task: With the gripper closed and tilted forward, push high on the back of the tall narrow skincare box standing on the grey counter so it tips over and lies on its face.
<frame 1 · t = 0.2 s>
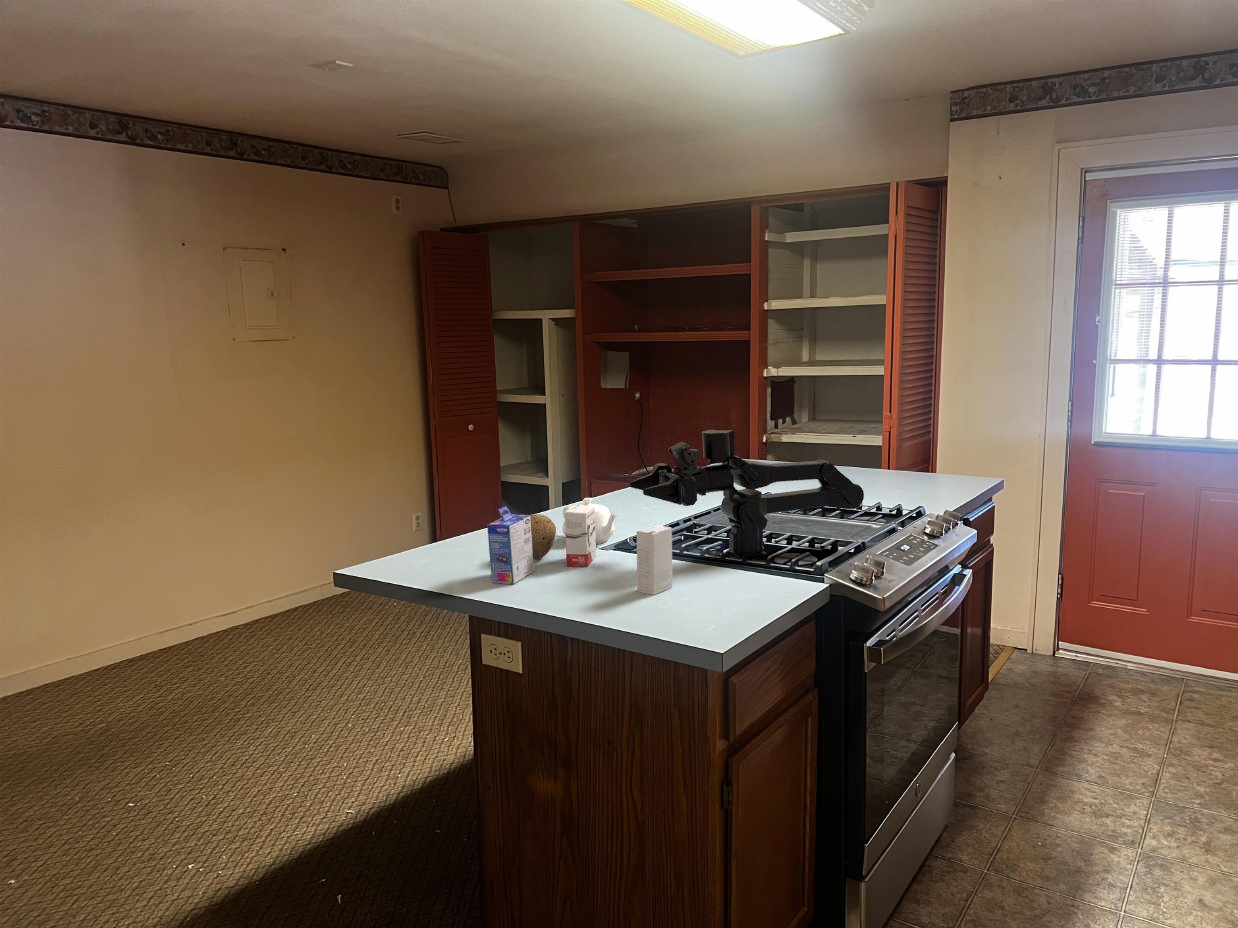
hand: (636, 488, 183), 17 cm above the worktop, fingers open, 9 cm apart
skincare box: (655, 591, 168), on the worktop
natural sponge: (536, 559, 193), on the worktop
ink cartridge box: (512, 578, 179), on the worktop
teapot: (590, 541, 208), on the worktop
ink box: (581, 562, 189), on the worktop
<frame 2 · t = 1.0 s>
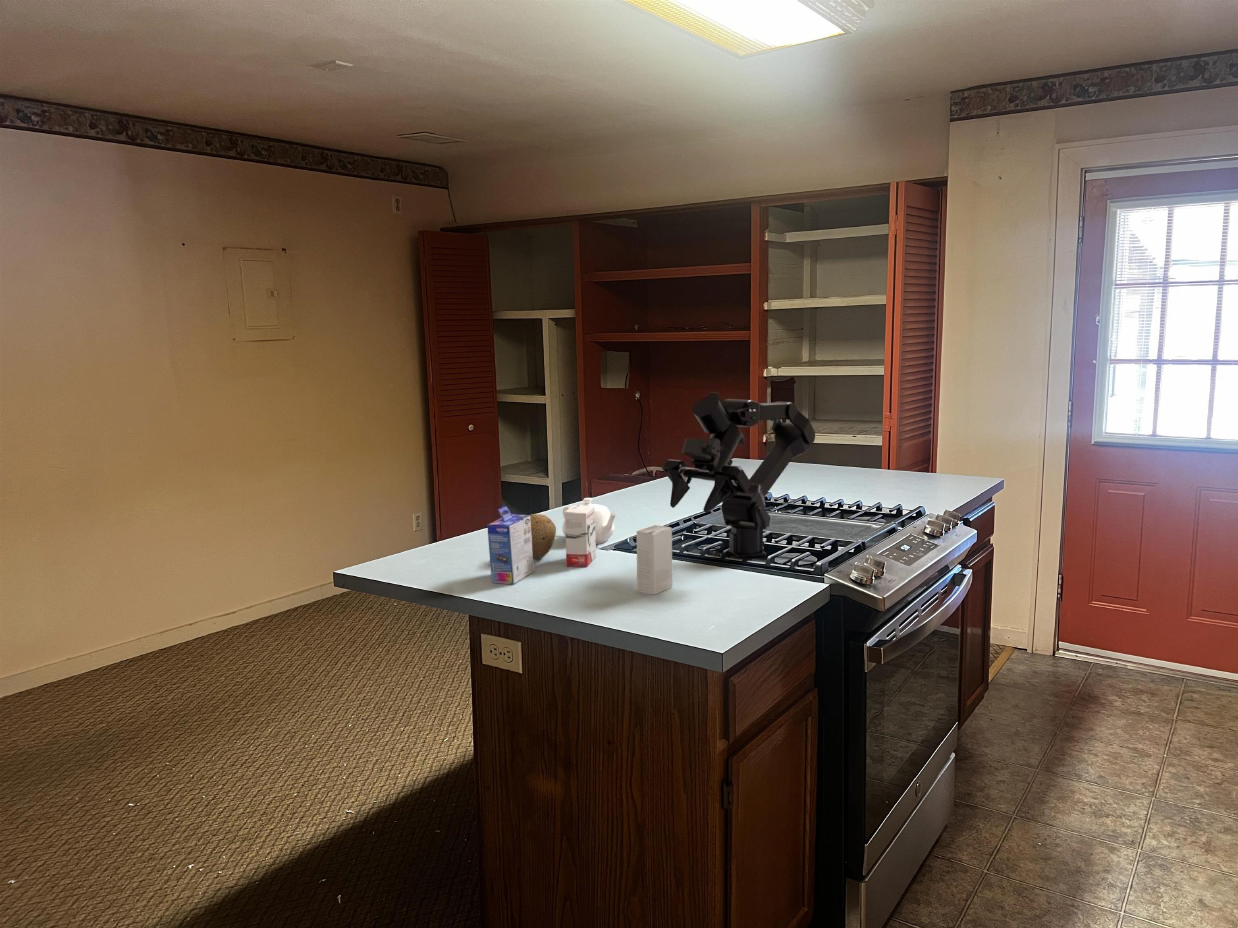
hand: (688, 508, 174), 14 cm above the worktop, fingers open, 8 cm apart
nothing on the worktop moved.
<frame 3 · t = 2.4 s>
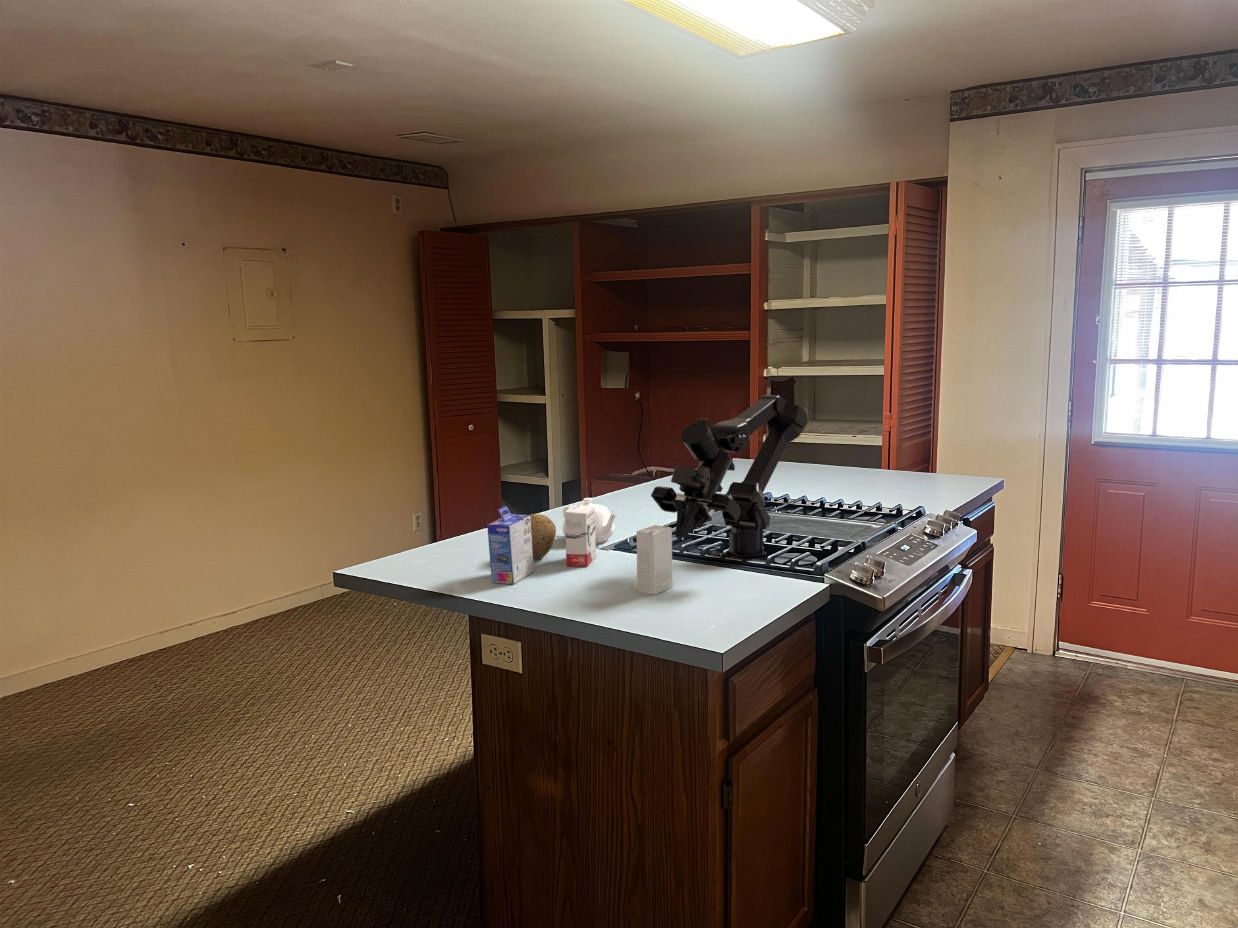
hand: (677, 538, 172), 9 cm above the worktop, fingers closed
nothing on the worktop moved.
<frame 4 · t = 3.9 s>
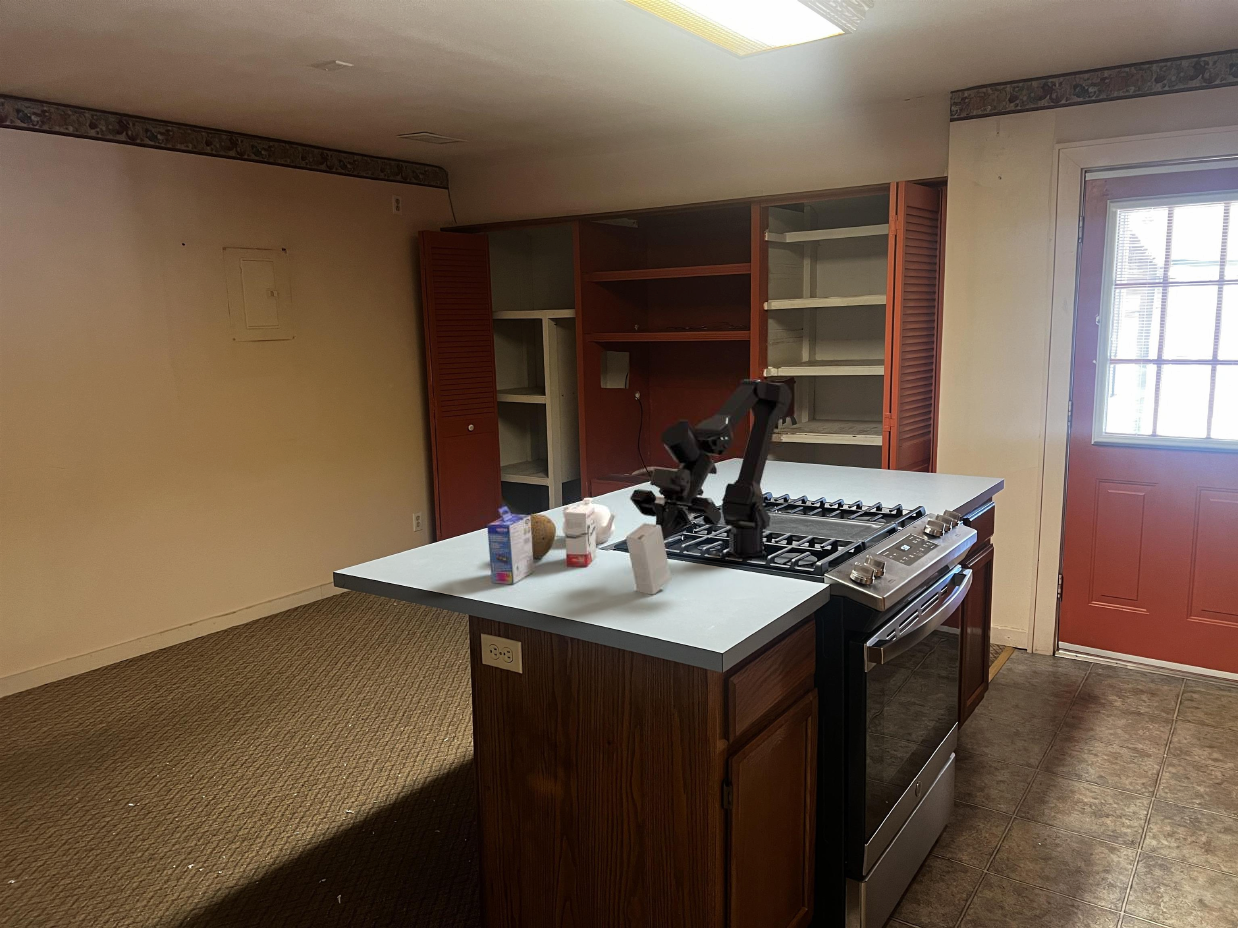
hand: (656, 542, 167), 9 cm above the worktop, fingers closed
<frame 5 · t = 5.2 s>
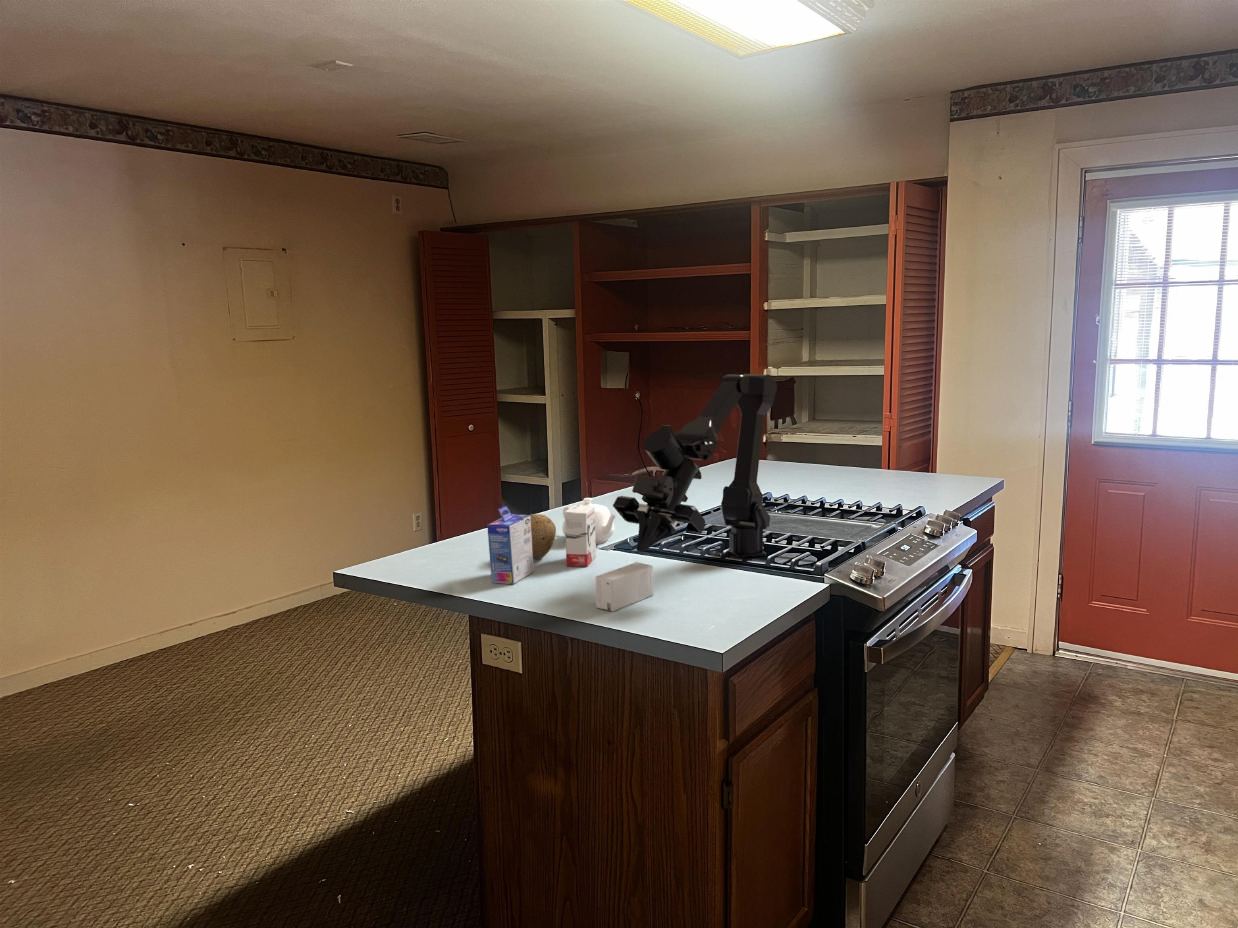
hand: (639, 551, 163), 9 cm above the worktop, fingers closed
skincare box: (646, 578, 165), point 3 cm above the worktop
everything else where it was.
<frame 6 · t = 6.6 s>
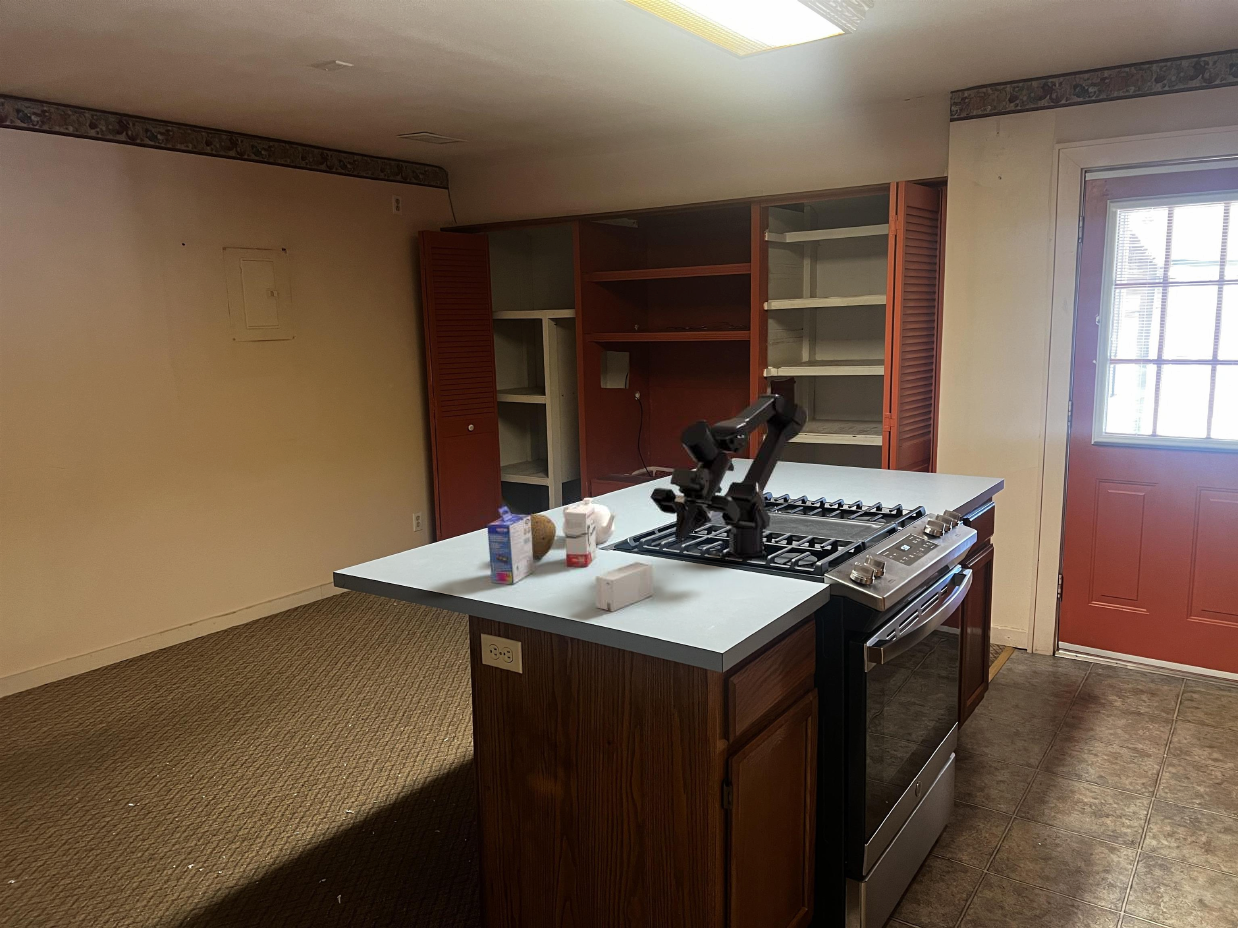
hand: (677, 539, 172), 8 cm above the worktop, fingers closed
nothing on the worktop moved.
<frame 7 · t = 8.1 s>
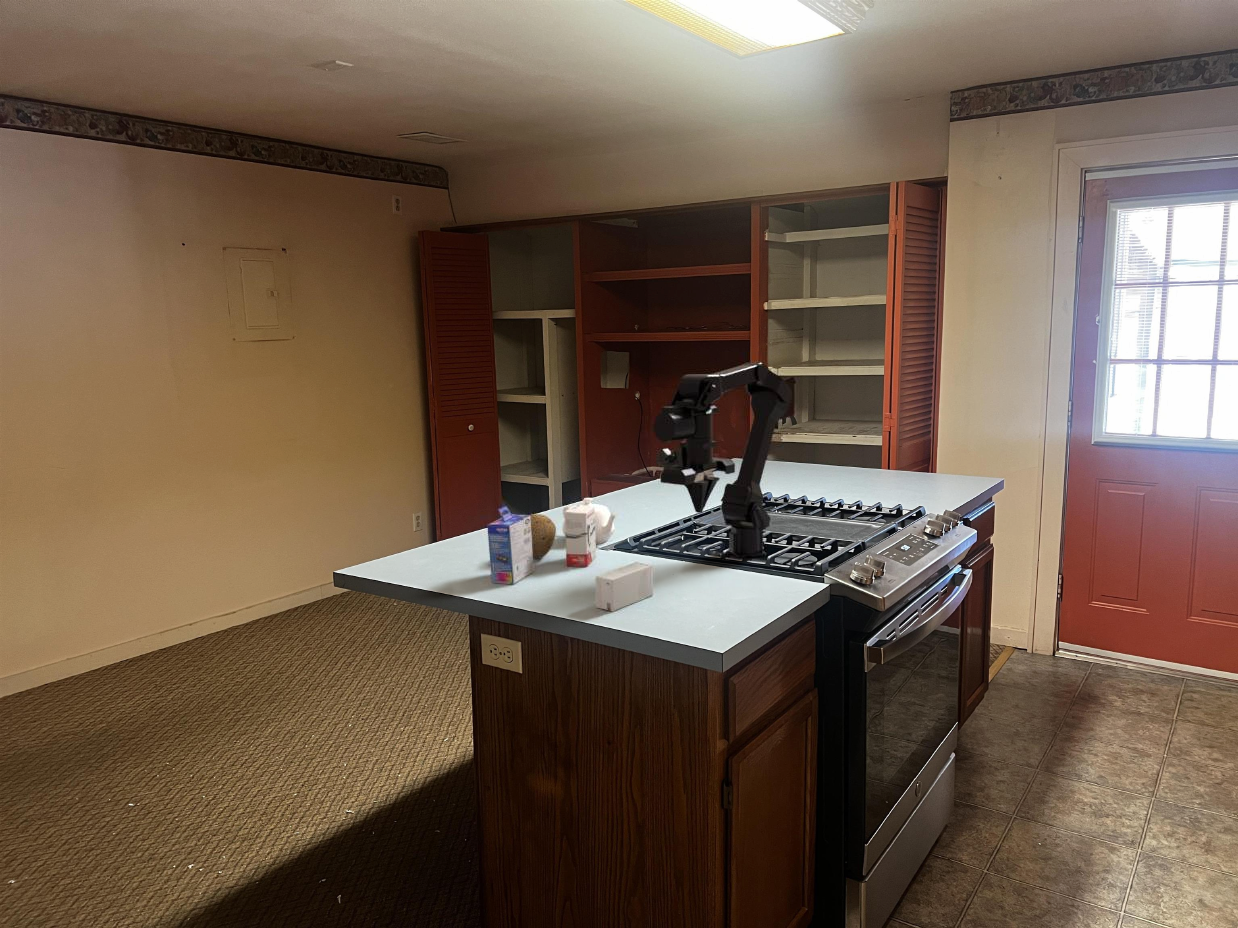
hand: (698, 512, 179), 12 cm above the worktop, fingers closed
nothing on the worktop moved.
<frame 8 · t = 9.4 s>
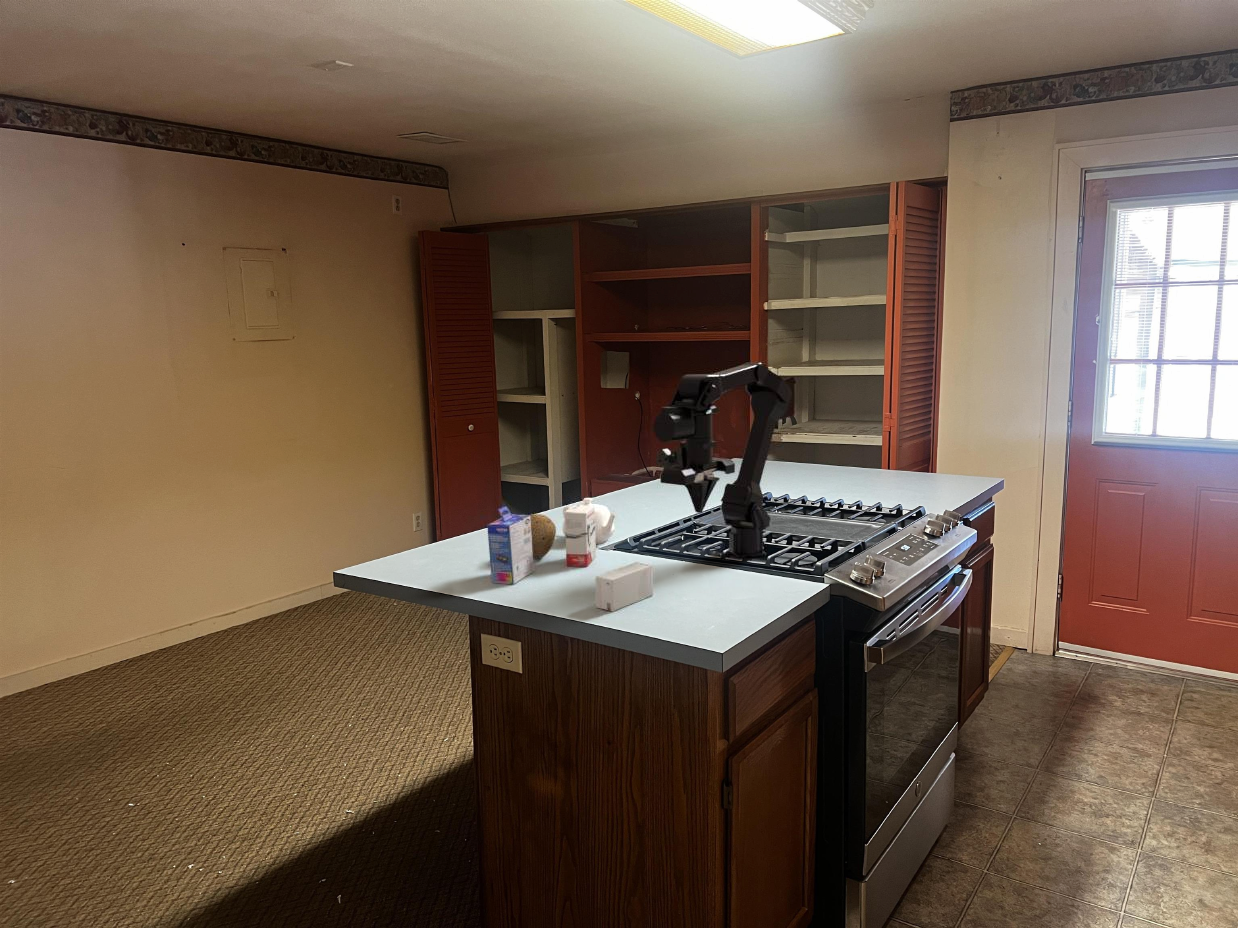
hand: (698, 512, 179), 12 cm above the worktop, fingers closed
nothing on the worktop moved.
at the end: skincare box tilted 89°; skincare box inside the target area (2.4 cm from its centre), point 2.8 cm above the worktop; the gripper is holding nothing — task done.
